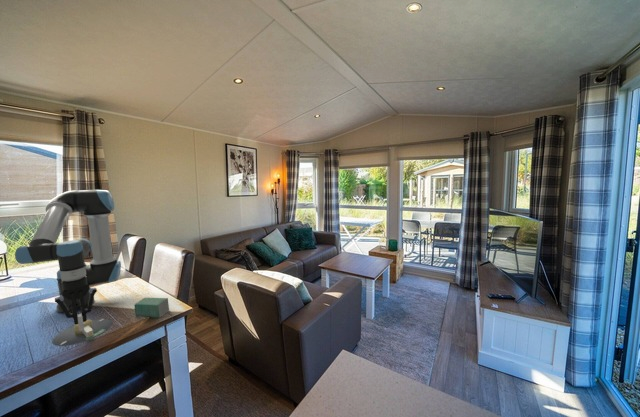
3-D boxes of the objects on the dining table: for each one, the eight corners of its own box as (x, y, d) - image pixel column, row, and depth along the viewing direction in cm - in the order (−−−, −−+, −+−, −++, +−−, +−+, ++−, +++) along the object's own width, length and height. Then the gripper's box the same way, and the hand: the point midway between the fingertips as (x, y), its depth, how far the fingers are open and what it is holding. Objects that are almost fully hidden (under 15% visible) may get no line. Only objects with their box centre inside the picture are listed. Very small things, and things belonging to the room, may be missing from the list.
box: (146, 309, 134) (145, 296, 133) (169, 310, 133) (168, 297, 132) (135, 317, 127) (133, 303, 126) (159, 318, 125) (158, 304, 125)
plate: (38, 347, 104) (37, 344, 104) (86, 320, 124) (85, 317, 124) (82, 349, 103) (81, 346, 102) (123, 321, 122) (123, 318, 122)
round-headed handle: (73, 332, 112) (72, 324, 112) (90, 325, 117) (89, 317, 117) (82, 342, 105) (80, 334, 104) (100, 335, 110) (99, 327, 109)
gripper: (51, 285, 95) (60, 340, 99) (96, 275, 105) (102, 326, 108) (51, 280, 100) (59, 332, 104) (93, 270, 110) (100, 319, 113)
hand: (81, 329), depth 106 cm, fingers closed
